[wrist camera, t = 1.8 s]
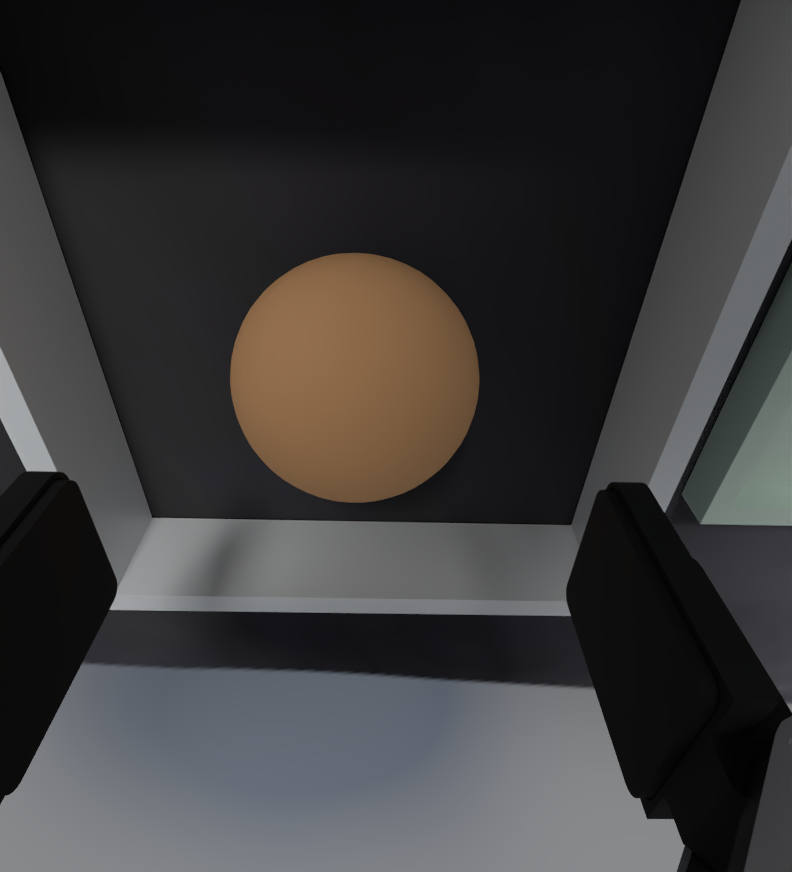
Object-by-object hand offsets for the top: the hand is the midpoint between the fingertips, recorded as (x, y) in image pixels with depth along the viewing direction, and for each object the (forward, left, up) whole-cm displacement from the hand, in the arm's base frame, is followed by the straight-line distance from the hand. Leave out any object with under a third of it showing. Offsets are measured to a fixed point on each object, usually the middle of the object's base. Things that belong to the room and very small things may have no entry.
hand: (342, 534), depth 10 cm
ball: (-1, 0, -5) cm, 5 cm away
